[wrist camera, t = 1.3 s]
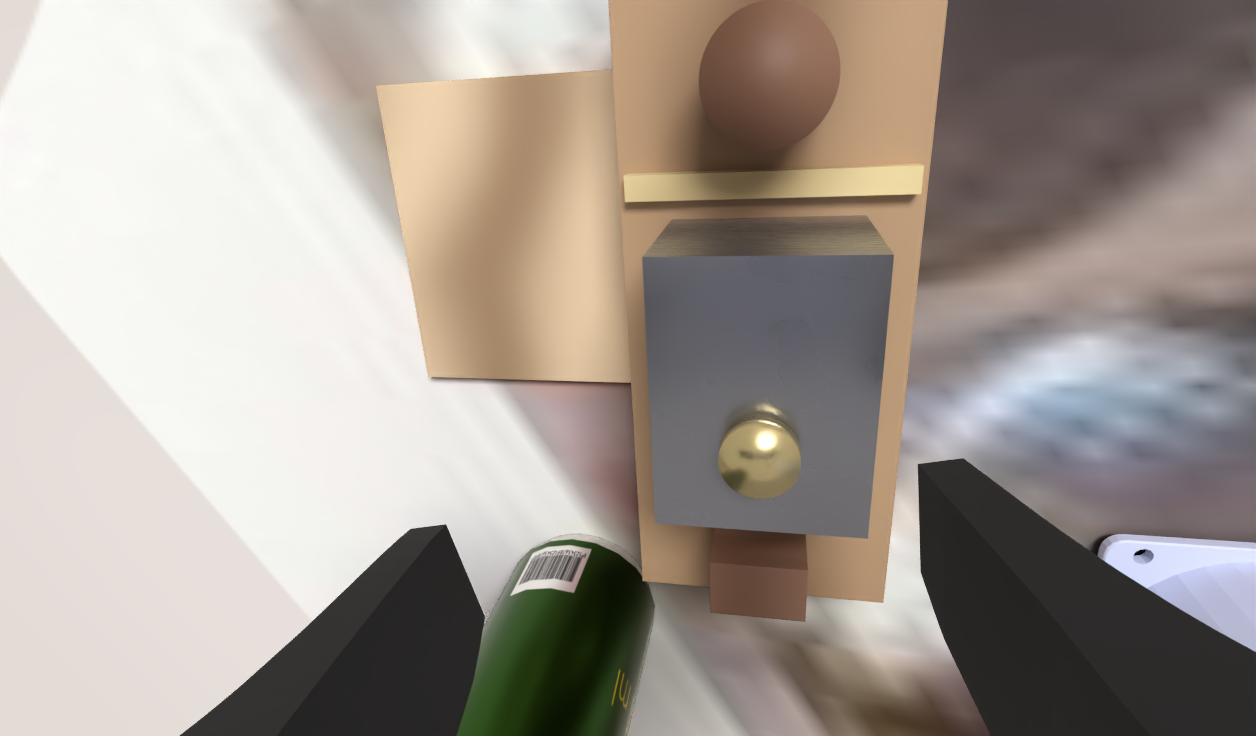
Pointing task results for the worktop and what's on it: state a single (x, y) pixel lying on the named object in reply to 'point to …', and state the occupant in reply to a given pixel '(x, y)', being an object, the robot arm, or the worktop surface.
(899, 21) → the body
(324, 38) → the worktop surface
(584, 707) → the beer can
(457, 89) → the cork trivet
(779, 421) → the grey block with knob
